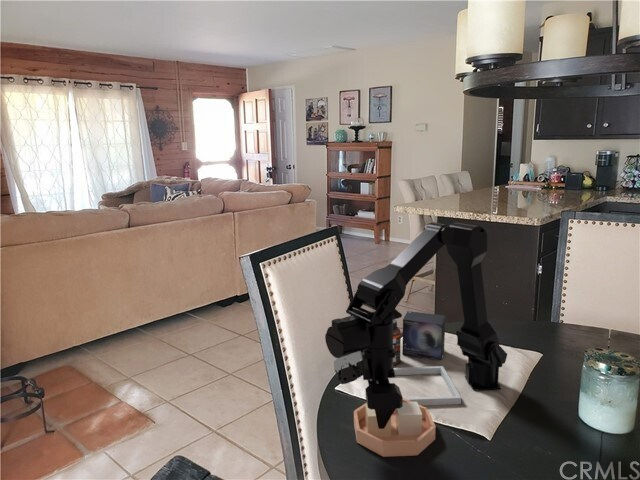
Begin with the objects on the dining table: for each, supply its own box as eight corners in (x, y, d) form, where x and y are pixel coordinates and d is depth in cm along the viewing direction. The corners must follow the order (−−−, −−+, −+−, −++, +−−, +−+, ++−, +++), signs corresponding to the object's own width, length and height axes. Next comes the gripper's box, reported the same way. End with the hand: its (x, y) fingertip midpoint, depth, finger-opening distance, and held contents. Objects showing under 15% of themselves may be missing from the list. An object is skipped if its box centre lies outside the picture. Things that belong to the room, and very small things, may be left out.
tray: (442, 371, 118) (442, 366, 117) (460, 403, 103) (461, 397, 103) (372, 374, 117) (371, 368, 117) (380, 407, 103) (380, 400, 103)
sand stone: (387, 422, 97) (387, 402, 96) (391, 436, 92) (391, 415, 92) (365, 423, 97) (365, 403, 96) (368, 437, 92) (367, 416, 91)
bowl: (422, 408, 102) (422, 396, 102) (441, 454, 87) (442, 441, 87) (351, 411, 102) (351, 399, 102) (359, 457, 87) (358, 444, 87)
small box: (401, 355, 127) (401, 318, 125) (406, 345, 133) (406, 310, 131) (441, 361, 123) (442, 323, 121) (445, 350, 129) (446, 314, 127)
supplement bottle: (400, 367, 121) (400, 325, 118) (376, 365, 122) (376, 324, 119) (400, 356, 126) (401, 316, 124) (378, 355, 128) (378, 315, 125)
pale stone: (416, 421, 97) (417, 401, 96) (421, 435, 93) (421, 414, 92) (394, 422, 97) (394, 402, 96) (398, 435, 93) (398, 415, 92)
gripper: (333, 325, 100) (335, 392, 103) (338, 367, 81) (340, 447, 85) (386, 323, 100) (386, 390, 103) (403, 365, 82) (402, 445, 85)
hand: (378, 415), depth 94 cm, fingers open, 8 cm apart
